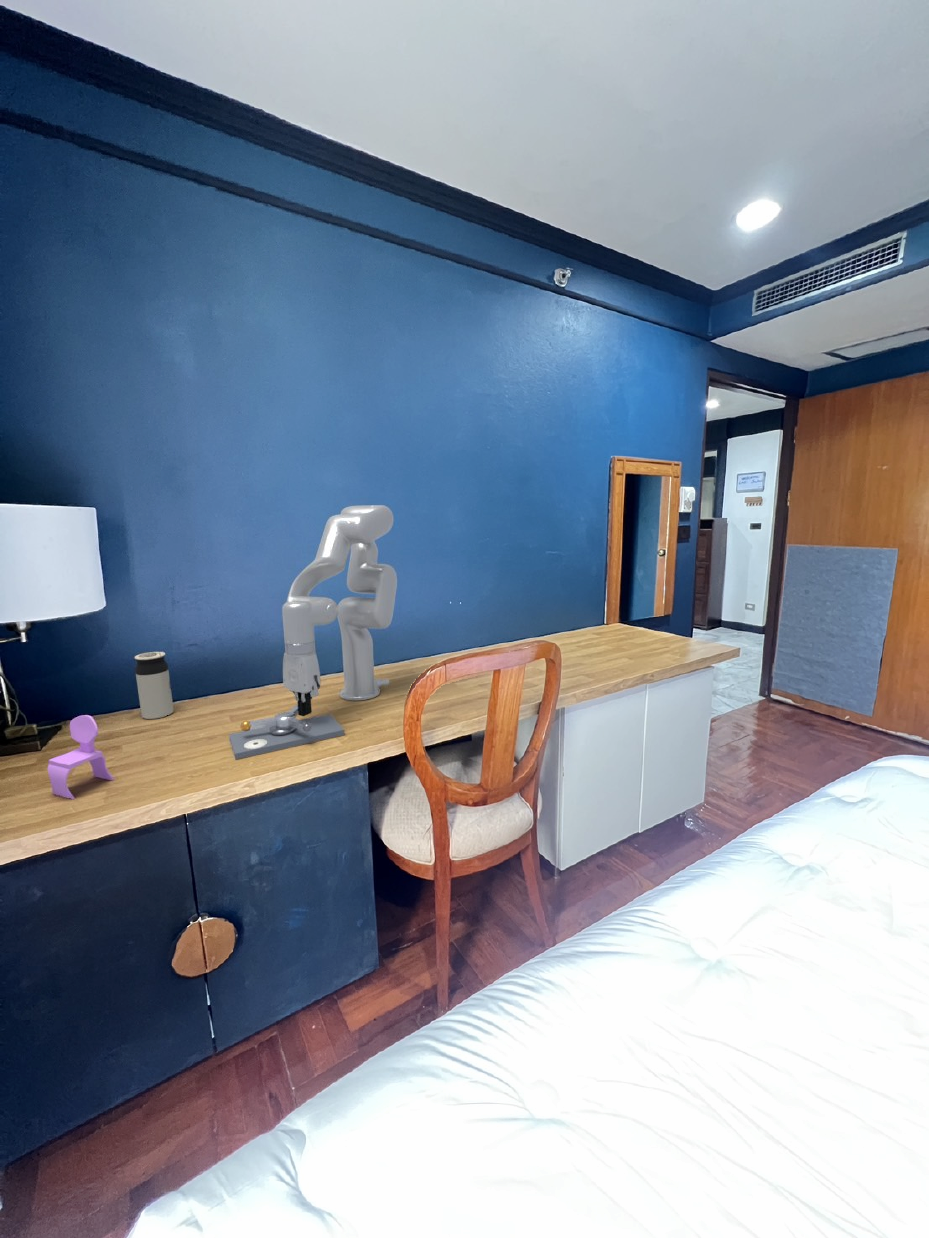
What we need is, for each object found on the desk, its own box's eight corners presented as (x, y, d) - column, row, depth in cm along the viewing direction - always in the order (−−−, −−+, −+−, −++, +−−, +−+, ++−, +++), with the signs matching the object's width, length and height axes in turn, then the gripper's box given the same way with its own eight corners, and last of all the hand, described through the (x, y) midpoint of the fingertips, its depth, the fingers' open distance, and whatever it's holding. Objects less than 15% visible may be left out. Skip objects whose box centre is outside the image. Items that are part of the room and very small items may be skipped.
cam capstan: (303, 714, 138) (302, 701, 138) (312, 738, 123) (311, 723, 122) (241, 724, 132) (239, 710, 131) (242, 751, 116) (240, 735, 116)
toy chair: (47, 794, 102) (34, 725, 99) (92, 774, 110) (81, 710, 107) (73, 801, 99) (61, 731, 96) (117, 780, 107) (107, 715, 104)
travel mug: (139, 721, 140) (130, 659, 136) (144, 712, 147) (136, 653, 143) (172, 717, 143) (164, 656, 139) (175, 708, 150) (167, 650, 147)
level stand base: (330, 718, 140) (330, 713, 140) (344, 735, 129) (344, 728, 129) (229, 739, 127) (228, 733, 127) (235, 759, 116) (234, 752, 116)
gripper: (270, 647, 131) (275, 713, 135) (308, 654, 123) (312, 724, 127) (293, 642, 138) (298, 705, 141) (330, 648, 130) (335, 715, 133)
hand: (305, 714), depth 134 cm, fingers closed
